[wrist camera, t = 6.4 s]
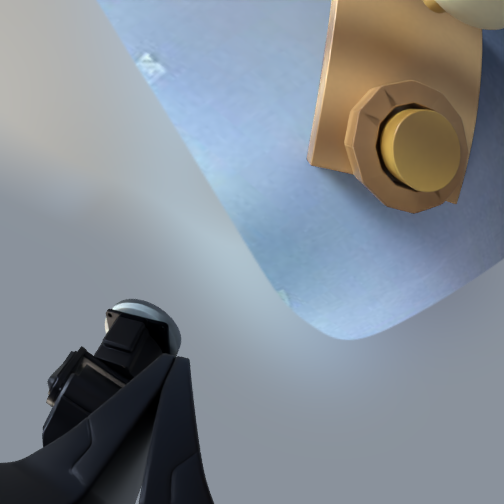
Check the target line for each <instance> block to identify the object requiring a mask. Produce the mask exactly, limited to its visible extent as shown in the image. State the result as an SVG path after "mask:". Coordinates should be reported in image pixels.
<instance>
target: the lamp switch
mask: <svg viewBox="0 0 504 504" xmlns="http://www.w3.org/2000/svg"><path fill="white" fill-rule="evenodd" d="M380 150H381V155H382V159H383V162H384V164H385V166H386V167H387V169H388V170H389V172H390V173H391V174H392V175H393V176H394V177H395V178H397V179H398V180H400V181H401V182H403V183H405V184H406V185H408V186H410V187H411V188H413V189H415V190H418V191H421V192H434V191H437V190H440V189H442V188H444V187H445V186H446V185H448V184H449V183H450V182H451V180H452V179H453V178H454V176H455V174H456V173H457V170H458V168H459V164H460V159H461V147H460V142H459V138H458V135H457V133H456V131H455V129H454V127H453V126H452V124H451V123H450V122H449V121H448V120H447V119H446V118H445V117H444V116H442V115H441V114H439V113H437V112H435V111H432V110H427V109H406V110H402V111H399V112H397V113H396V114H394V115H393V116H392V117H391V118H390V119H389V120H388V121H387V123H386V124H385V126H384V128H383V131H382V134H381V139H380Z"/></svg>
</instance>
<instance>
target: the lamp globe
mask: <svg viewBox="0 0 504 504" xmlns="http://www.w3.org/2000/svg"><path fill="white" fill-rule="evenodd" d="M423 2H424V4H425V5H426V6H427V7H428V8H429V9H430V10H432V11H433V12H436V13H444V12H448V13H449V14H450V15H452V16H453V17H455V18H456V19H458V20H460V21H461V22H463V23H465V24H468V25H470V26H473V27H476V28H480V29H485V30H498V29H503V28H504V0H423Z"/></svg>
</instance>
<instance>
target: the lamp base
mask: <svg viewBox="0 0 504 504" xmlns="http://www.w3.org/2000/svg"><path fill="white" fill-rule="evenodd" d="M481 69H482V29H480V28H476V27H473V26H470V25H468V24H465V23H463V22H461V21H460V20H458V19H456V18H455V17H453V16H452V15H450V14H449V13H448V12H444V13H436V12H433V11H432V10H430V9H429V8H428V7H427V6H426V5H425V4H424V2H423V0H332V2H331V10H330V18H329V25H328V33H327V40H326V47H325V53H324V60H323V67H322V73H321V79H320V86H319V92H318V98H317V104H316V109H315V115H314V121H313V127H312V132H311V138H310V143H309V149H308V154H307V161H308V162H309V163H310V165H312V166H316V167H321V168H326V169H330V170H335V171H339V172H344V173H348V174H352V175H355V177H356V178H357V179H358V180H359V181H360V182H361V183H362V184H363V185H364V186H365V187H366V188H367V189H368V190H369V191H370V192H371V193H372V194H373V195H374V196H375V197H376V198H377V199H378V200H379V201H380V202H381V203H383V204H384V205H385V206H387V207H390V208H394V209H398V210H402V211H406V212H409V213H413V214H415V213H418V212H421V211H424V210H427V209H430V208H433V207H436V206H439V205H441V204H443V203H444V202H445V201H447V202H450V203H453V204H457V201H458V198H459V194H460V191H461V187H462V184H463V180H464V176H465V172H466V168H467V164H468V159H469V155H470V150H471V145H472V140H473V135H474V129H475V123H476V117H477V110H478V102H479V93H480V83H481ZM406 109H427V110H432V111H435V112H437V113H439V114H441V115H442V116H444V117H445V118H446V119H447V120H448V121H449V122H450V123H451V124H452V126H453V127H454V129H455V131H456V133H457V135H458V138H459V142H460V147H461V159H460V164H459V168H458V170H457V173H456V174H455V176H454V178H453V179H452V180H451V182H450V183H449V184H448V185H446V186H445V187H444V188H442V189H440V190H437V191H434V192H421V191H418V190H415V189H413V188H411V187H410V186H408V185H406V184H405V183H403V182H401V181H400V180H398V179H397V178H395V177H394V176H393V175H392V174H391V173H390V172H389V170H388V169H387V167H386V166H385V164H384V162H383V159H382V155H381V150H380V139H381V134H382V131H383V128H384V126H385V124H386V123H387V121H388V120H389V119H390V118H391V117H392V116H393V115H394V114H396V113H397V112H399V111H402V110H406Z"/></svg>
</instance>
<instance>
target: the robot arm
mask: <svg viewBox="0 0 504 504" xmlns="http://www.w3.org/2000/svg"><path fill="white" fill-rule="evenodd" d="M106 318H107V323H108V328H109V331H108V333H107V334H106V336H105V337H104V339H103V342H102V343H101V345H100V347H99V348H98V350H97V351H96V353H95V355H94V356H93V355H92V354H90V353H89V352H87V350H86V349H85V348H84V347H81V348H80V349H79V350H78V352H77V351H75V352H72V351H71V352H70V354H69V355H68V357H67V358H66V360H65V361H64V362H63V364H62V365H61V366H60V367H59V368H58V369H57V370H56V371H55V372H54V373H53V374H52V375H51V376H50V378H49V379H48V386H49V392H48V395H49V396H48V398H47V402H46V403H47V404H49V405H50V406H51V407H53V408H52V410H51V412H50V414H49V416H48V418H47V420H46V422H45V424H44V426H43V434H42V438H43V448H42V449H40V450H38V451H36V452H35V453H33V454H31V455H30V456H28V457H26V458H24V459H22V460H19V461H15V462H8V463H0V504H135V502H136V500H137V496H138V494H139V491H140V488H141V486H142V488H141V494H140V500H139V504H214V502H213V499H212V497H211V494H210V491H209V488H208V485H207V482H206V478H205V474H204V469H203V464H202V458H201V453H200V445H199V439H198V432H197V424H196V416H195V409H194V400H193V391H192V382H191V371H190V361H189V359H188V358H184V357H179V356H178V357H176V356H174V355H170V340H169V326H168V324H167V323H165V322H162V321H158V320H153V319H149V318H145V317H141V316H137V315H133V314H129V313H125V312H121V311H117V310H113V309H108V310H107V312H106ZM163 327H164V328H163Z"/></svg>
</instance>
